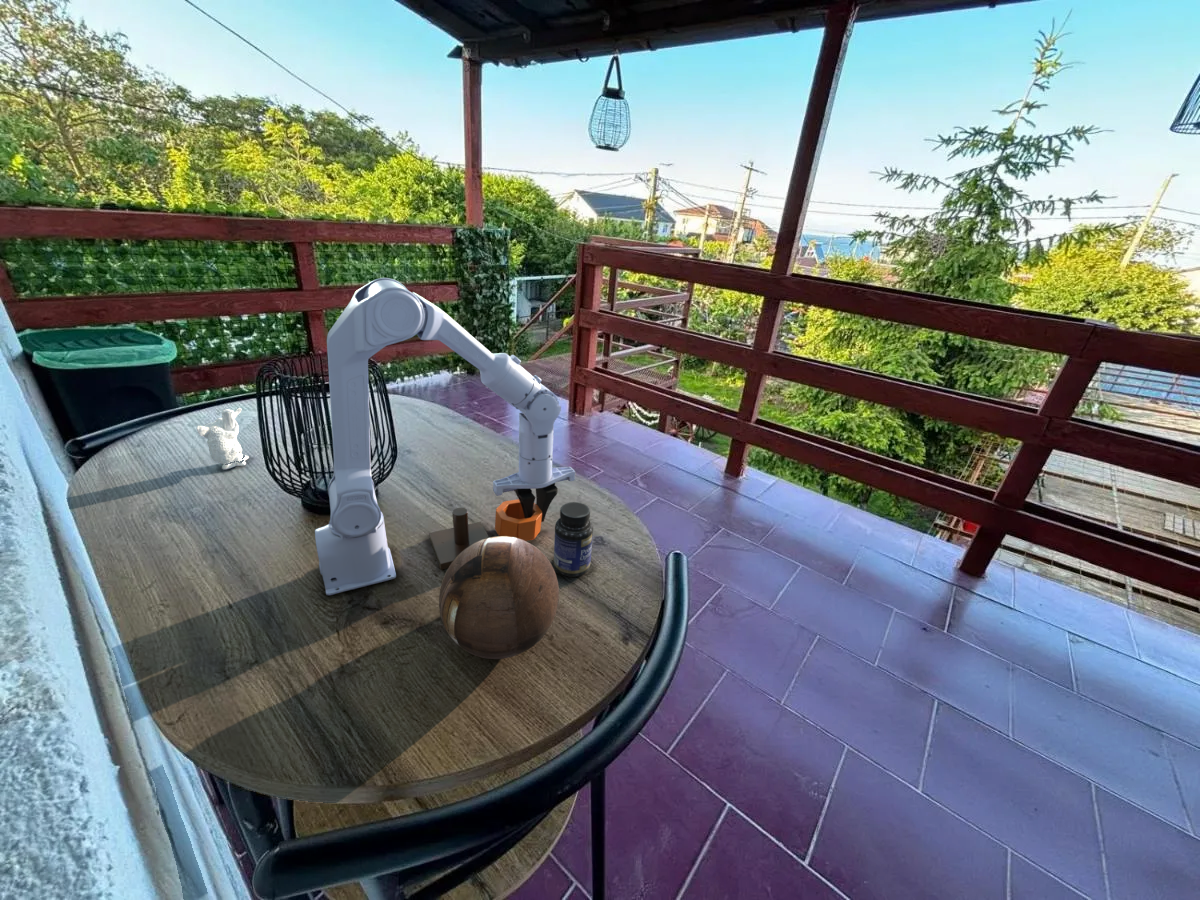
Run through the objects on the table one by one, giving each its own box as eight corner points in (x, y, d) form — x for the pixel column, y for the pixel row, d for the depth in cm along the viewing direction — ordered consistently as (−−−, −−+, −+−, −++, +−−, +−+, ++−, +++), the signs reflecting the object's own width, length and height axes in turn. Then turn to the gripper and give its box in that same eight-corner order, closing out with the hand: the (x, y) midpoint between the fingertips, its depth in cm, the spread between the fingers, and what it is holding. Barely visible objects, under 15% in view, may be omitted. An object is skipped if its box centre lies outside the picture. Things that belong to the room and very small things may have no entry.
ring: (504, 545, 81) (505, 525, 80) (490, 521, 87) (491, 502, 85) (545, 537, 85) (547, 518, 83) (529, 515, 91) (531, 497, 89)
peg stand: (441, 569, 76) (437, 532, 73) (429, 538, 83) (425, 503, 80) (496, 555, 80) (495, 519, 77) (480, 526, 87) (479, 492, 84)
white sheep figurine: (248, 453, 105) (234, 402, 100) (263, 463, 102) (249, 410, 97) (202, 466, 99) (185, 412, 94) (216, 477, 96) (199, 422, 91)
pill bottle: (585, 581, 76) (589, 523, 71) (548, 574, 77) (550, 516, 72) (593, 557, 82) (598, 502, 77) (559, 551, 83) (561, 496, 78)
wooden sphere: (540, 589, 74) (541, 507, 67) (571, 667, 61) (578, 575, 55) (438, 611, 68) (429, 524, 62) (450, 702, 56) (441, 604, 49)
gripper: (564, 438, 88) (561, 501, 93) (486, 449, 81) (488, 517, 87) (582, 454, 82) (577, 520, 88) (500, 468, 75) (501, 538, 81)
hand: (534, 520), depth 87 cm, fingers closed on ring, 2 cm apart
